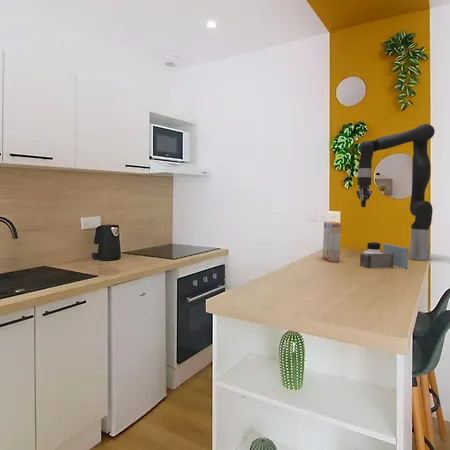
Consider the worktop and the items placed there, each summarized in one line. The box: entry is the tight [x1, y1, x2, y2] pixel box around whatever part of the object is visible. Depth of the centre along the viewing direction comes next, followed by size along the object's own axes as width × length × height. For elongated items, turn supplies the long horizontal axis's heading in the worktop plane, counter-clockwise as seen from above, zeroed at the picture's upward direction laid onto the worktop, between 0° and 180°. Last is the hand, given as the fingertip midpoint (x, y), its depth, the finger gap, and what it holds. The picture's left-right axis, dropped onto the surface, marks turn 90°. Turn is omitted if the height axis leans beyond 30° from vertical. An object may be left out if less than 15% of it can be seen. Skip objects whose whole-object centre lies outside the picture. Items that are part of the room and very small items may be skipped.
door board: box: [382, 243, 409, 270], centre depth 193 cm, size 1×18×10 cm, turn 11°
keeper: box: [359, 252, 394, 269], centre depth 189 cm, size 13×8×7 cm, turn 101°
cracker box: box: [322, 220, 342, 263], centre depth 206 cm, size 14×6×21 cm, turn 179°
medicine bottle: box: [363, 241, 382, 255], centre depth 190 cm, size 7×7×12 cm
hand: (363, 207), depth 218 cm, fingers closed
